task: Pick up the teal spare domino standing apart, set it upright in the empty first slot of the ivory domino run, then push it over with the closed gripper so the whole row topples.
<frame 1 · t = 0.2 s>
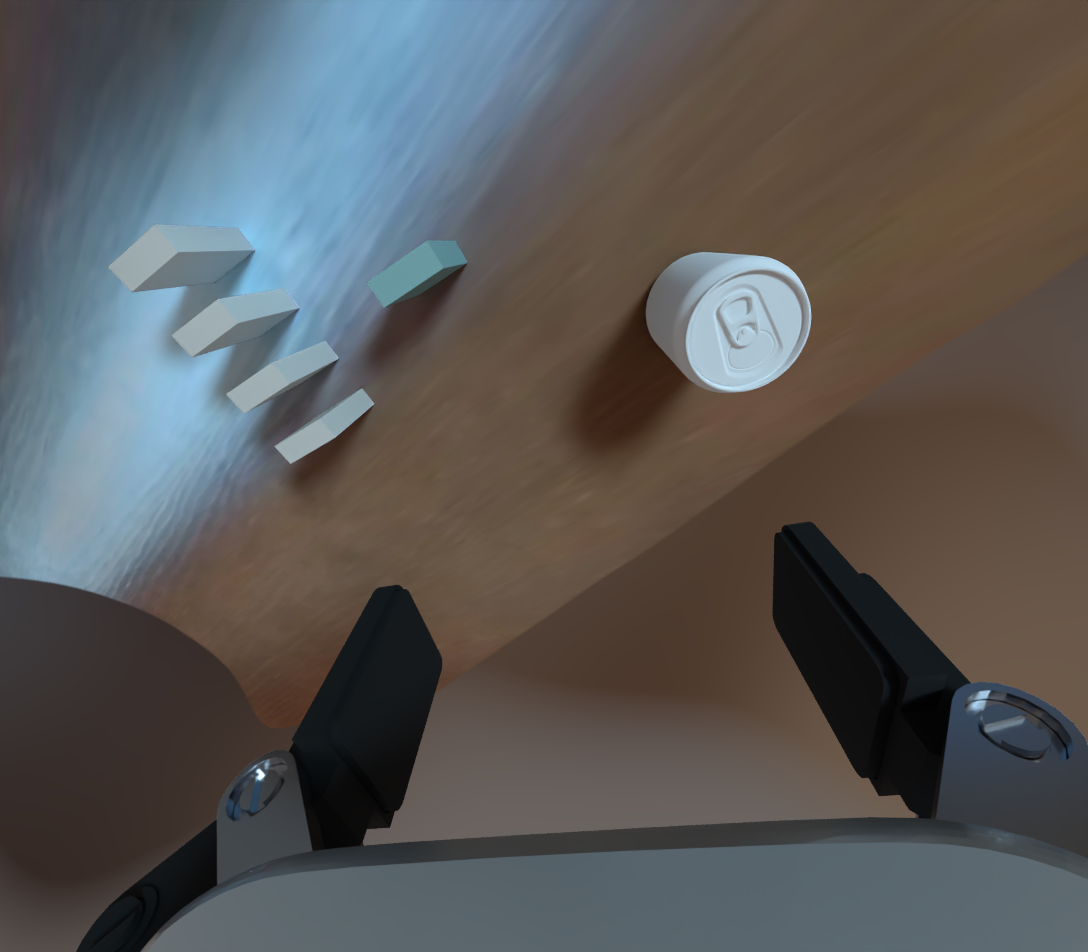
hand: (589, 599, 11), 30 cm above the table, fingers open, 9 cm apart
domino 4: (312, 362, 39), on the table
spare domino: (436, 268, 35), on the table
beverage can: (692, 306, 36), on the table
domino 3: (271, 312, 37), on the table
domino 5: (348, 408, 41), on the table
domino 2: (226, 256, 35), on the table
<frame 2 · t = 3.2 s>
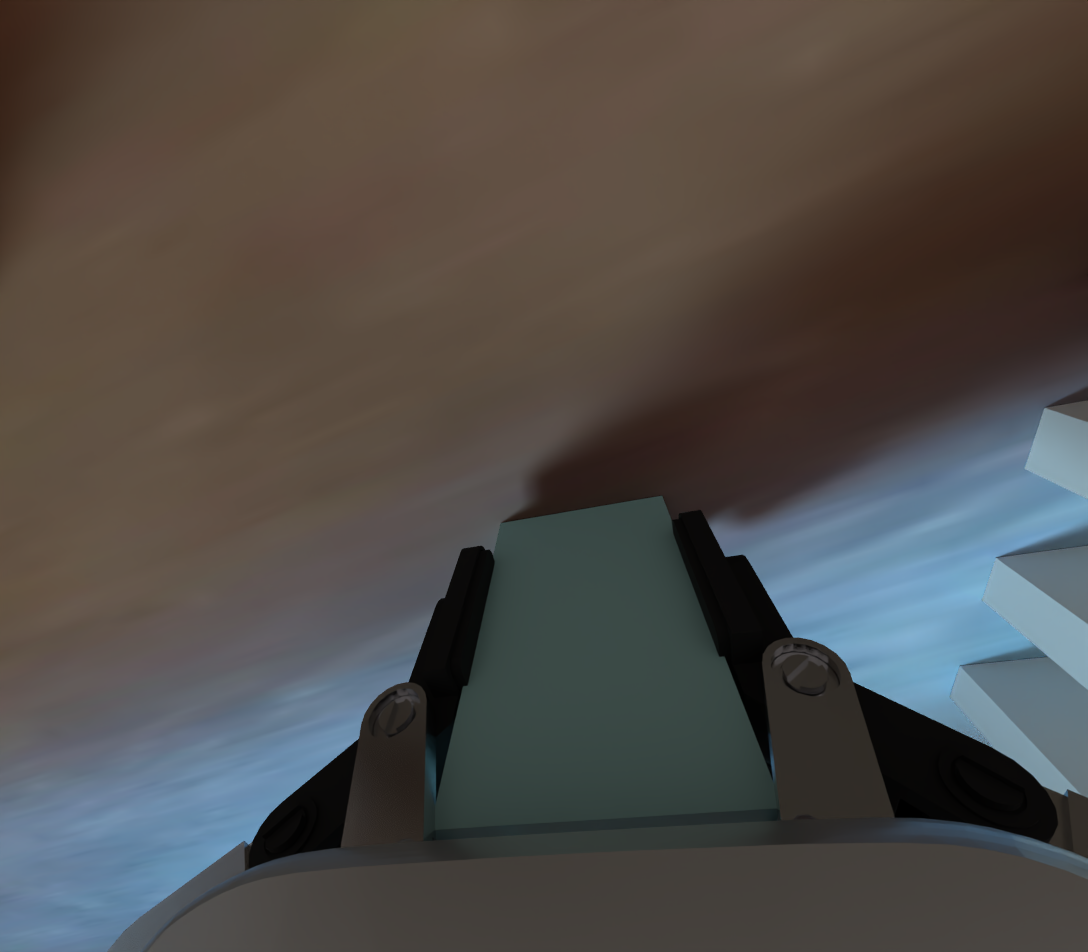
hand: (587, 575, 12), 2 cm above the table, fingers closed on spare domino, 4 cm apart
spare domino: (584, 533, 13), on the table, touching gripper
domino 3: (1078, 568, 13), on the table
domino 2: (1030, 674, 16), on the table
when the fingers open (3 cm above the table, at t = 8.4 s): spare domino stays where it is, on the table.
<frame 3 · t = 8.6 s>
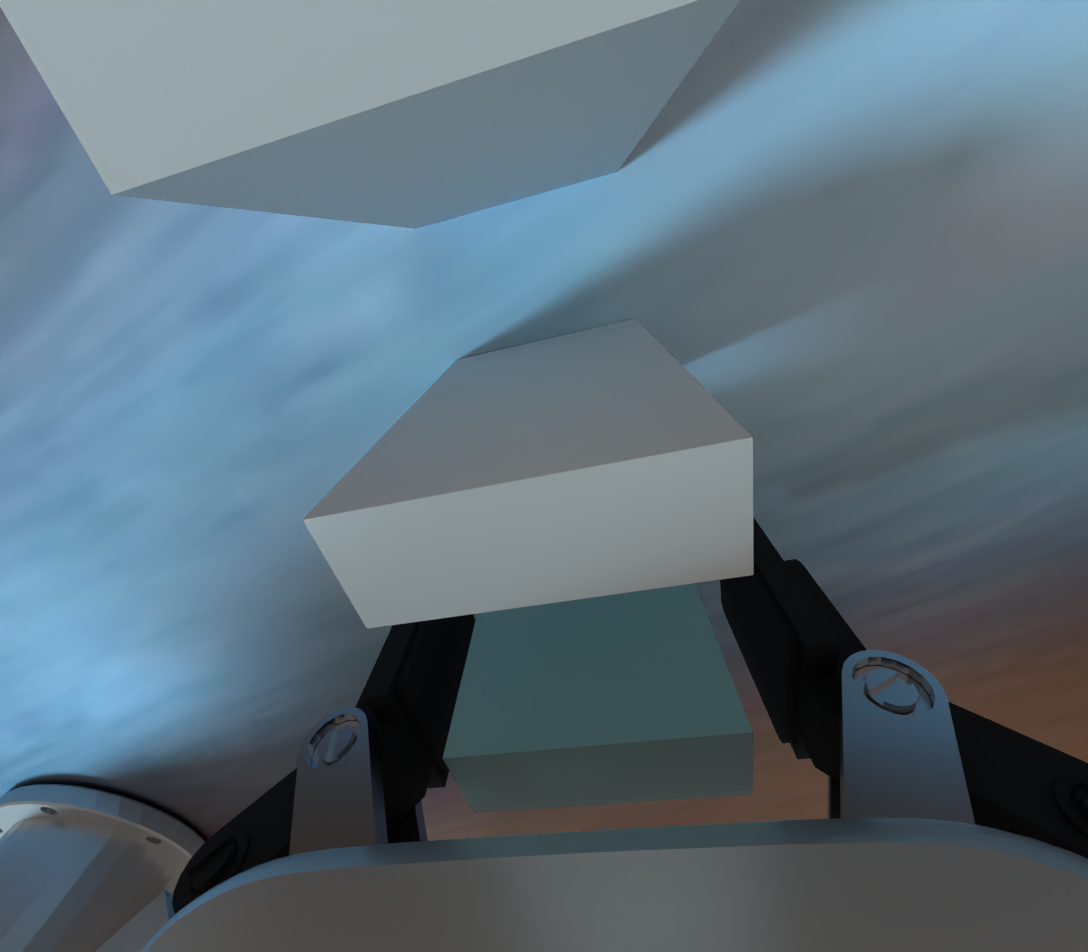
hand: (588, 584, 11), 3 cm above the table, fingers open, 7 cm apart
spare domino: (582, 514, 14), on the table
domino 3: (502, 155, 10), on the table
domino 2: (550, 371, 12), on the table
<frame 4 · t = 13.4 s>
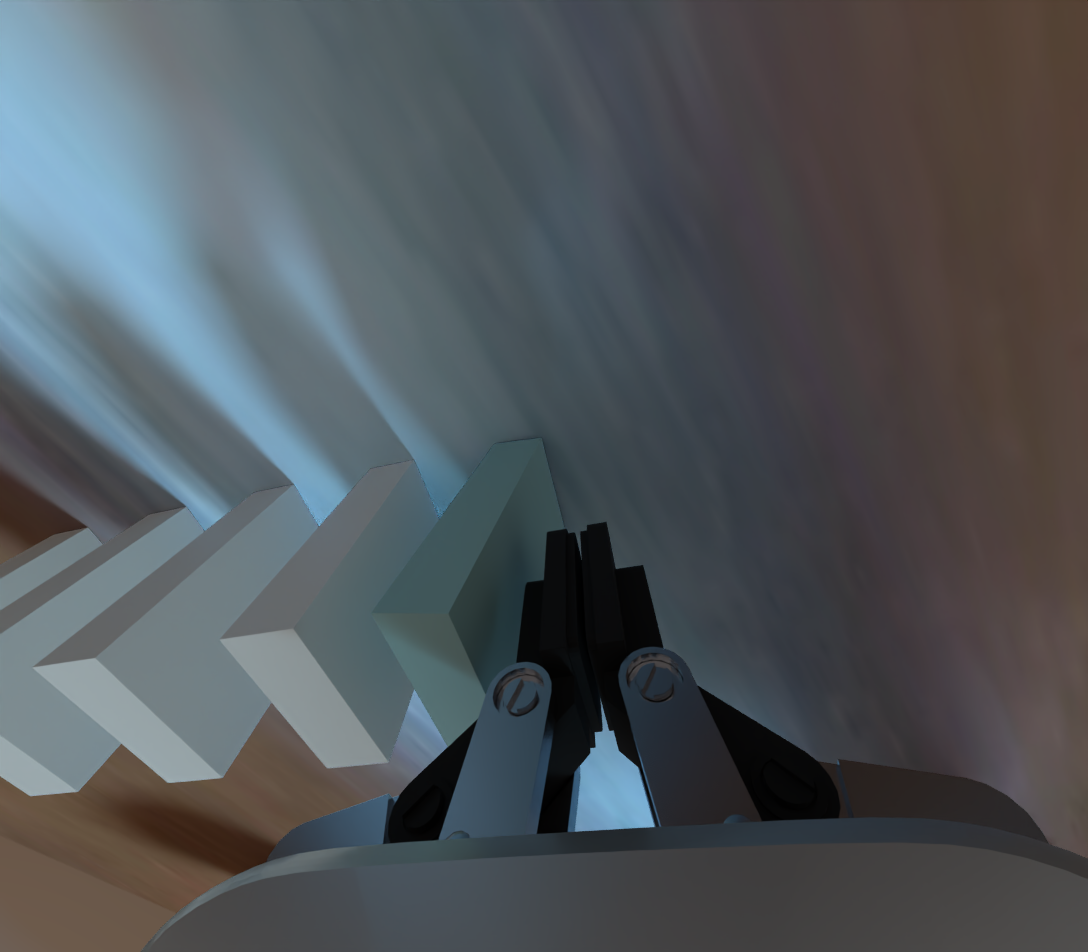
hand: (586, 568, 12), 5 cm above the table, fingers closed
domino 4: (204, 557, 19), on the table
spare domino: (534, 499, 16), on the table, tilted 10°
domino 3: (304, 538, 18), on the table
domino 5: (111, 574, 19), on the table
domino 2: (416, 518, 17), on the table
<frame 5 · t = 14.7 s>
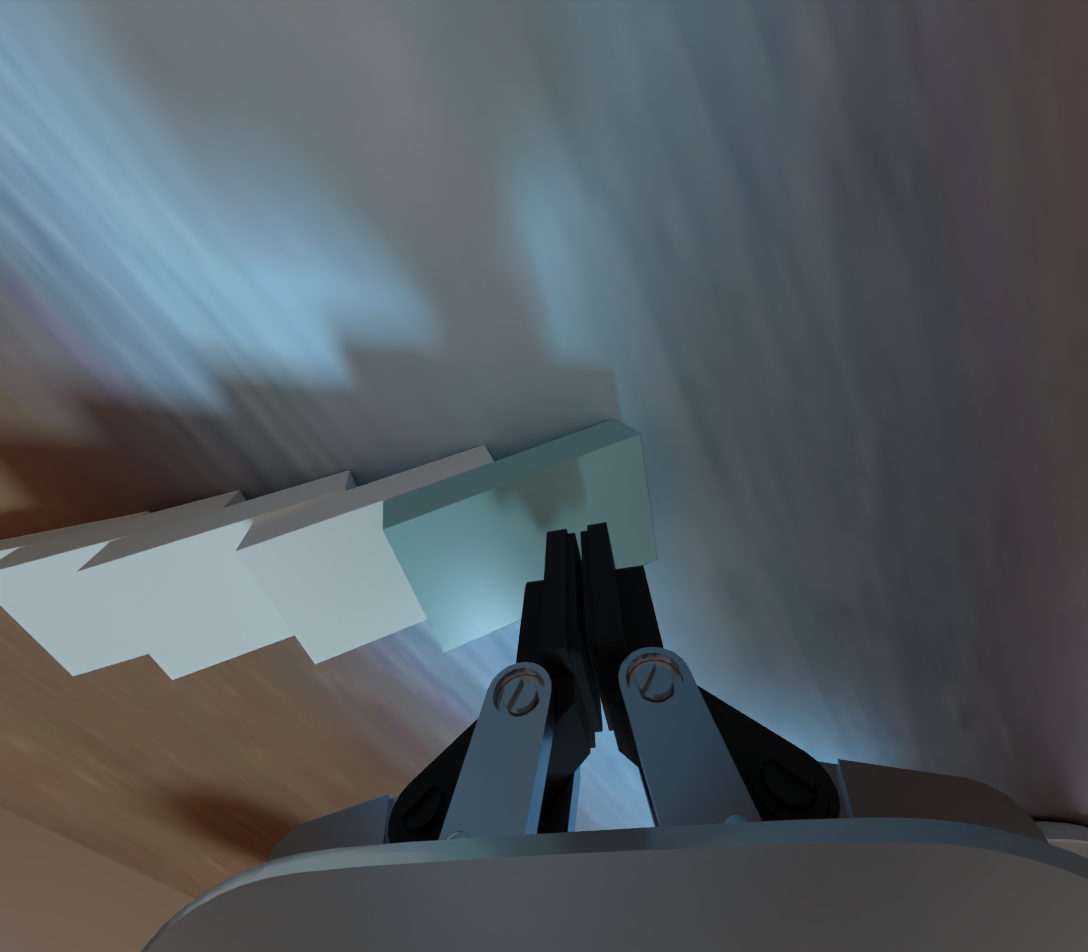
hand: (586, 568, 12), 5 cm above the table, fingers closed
domino 4: (262, 552, 17), point 1 cm above the table, tilted 74°, touching domino 5
spare domino: (636, 490, 15), point 1 cm above the table, tilted 68°, touching domino 2
domino 3: (373, 535, 16), point 1 cm above the table, tilted 69°, touching domino 2
domino 5: (179, 562, 18), on the table, tilted 90°, touching domino 4
domino 2: (508, 512, 16), point 1 cm above the table, tilted 69°, touching domino 3, spare domino
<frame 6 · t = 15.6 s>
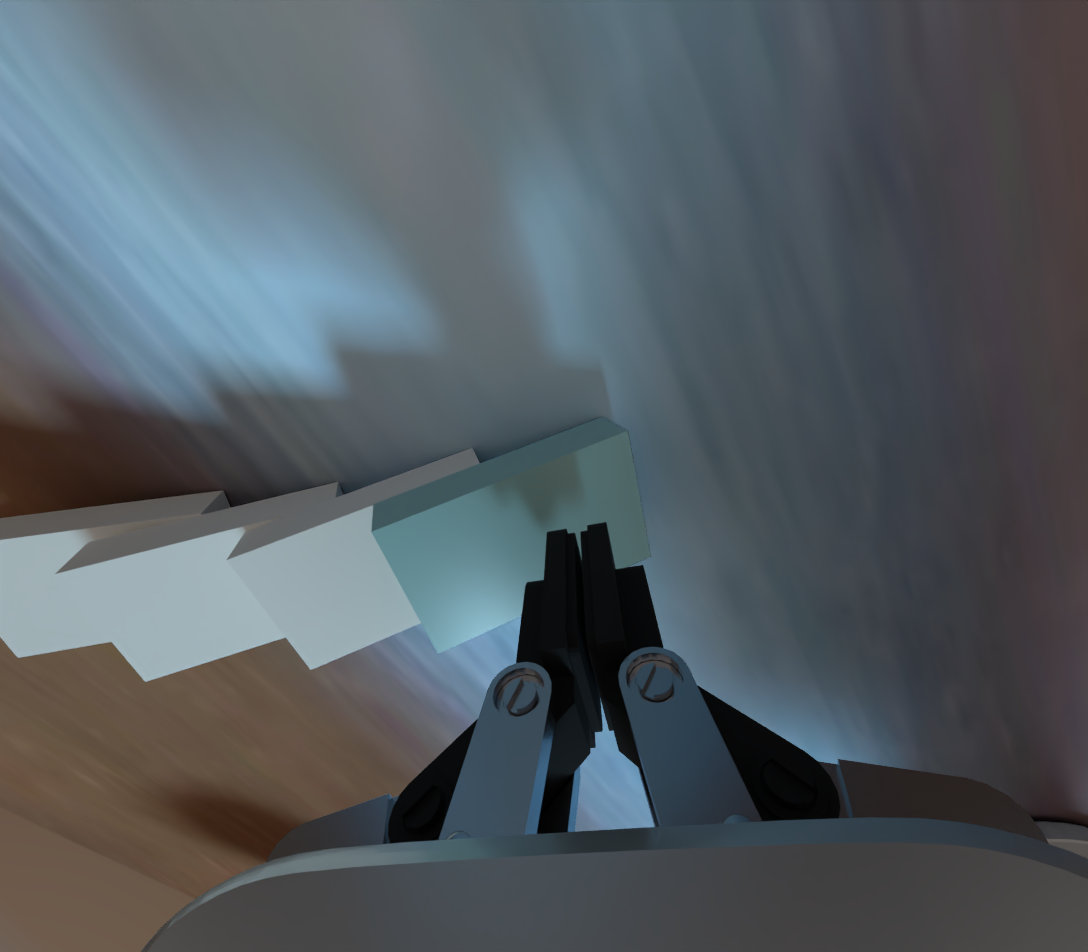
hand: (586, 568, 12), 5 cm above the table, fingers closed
domino 4: (236, 555, 17), point 1 cm above the table, tilted 75°, touching domino 3, domino 5
spare domino: (627, 487, 15), point 1 cm above the table, tilted 68°, touching domino 2
domino 3: (357, 546, 17), point 1 cm above the table, tilted 68°, touching domino 2, domino 4
domino 2: (498, 514, 16), point 1 cm above the table, tilted 70°, touching domino 3, spare domino
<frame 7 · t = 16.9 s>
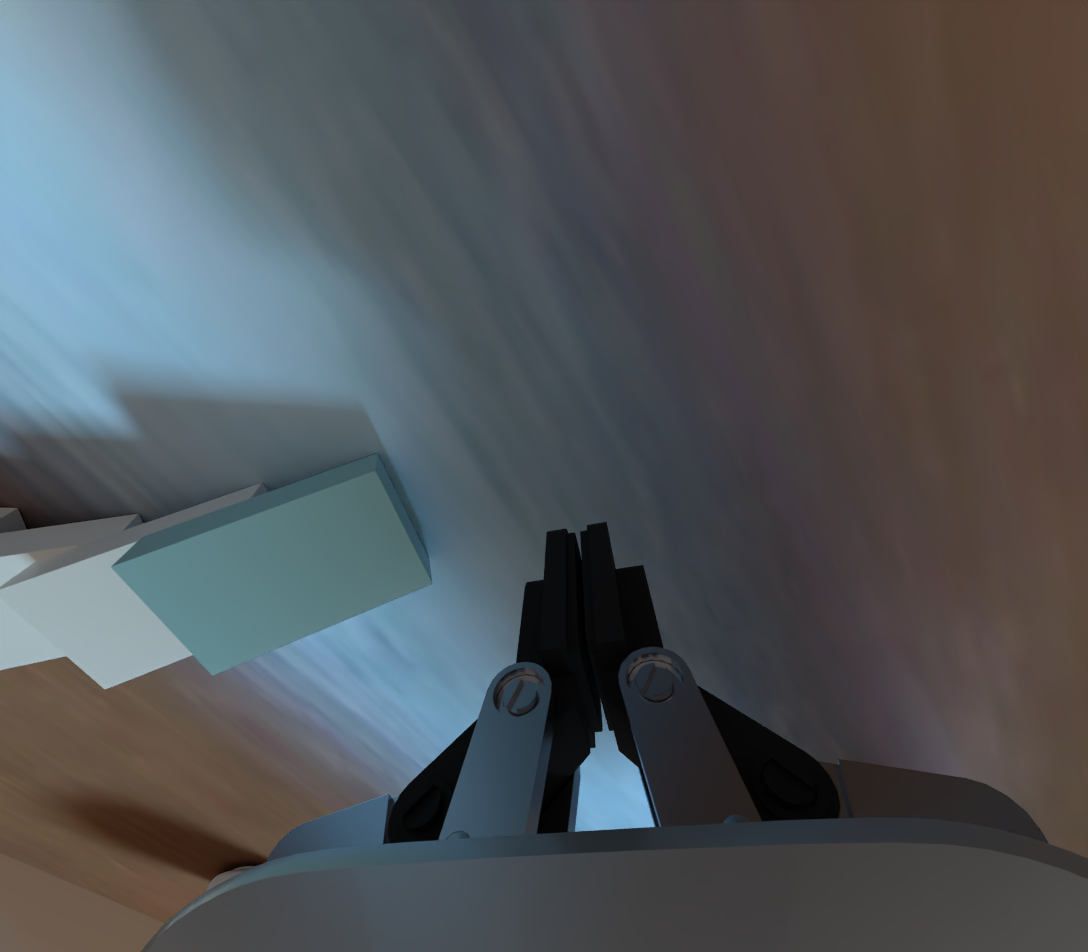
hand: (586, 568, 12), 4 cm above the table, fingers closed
domino 4: (21, 570, 18), point 1 cm above the table, tilted 74°, touching domino 3, domino 5
spare domino: (405, 519, 16), point 1 cm above the table, tilted 69°, touching domino 2
beverage can: (269, 879, 35), on the table
domino 3: (154, 575, 18), point 1 cm above the table, tilted 69°, touching domino 2, domino 4
domino 2: (290, 545, 17), point 1 cm above the table, tilted 71°, touching domino 3, spare domino
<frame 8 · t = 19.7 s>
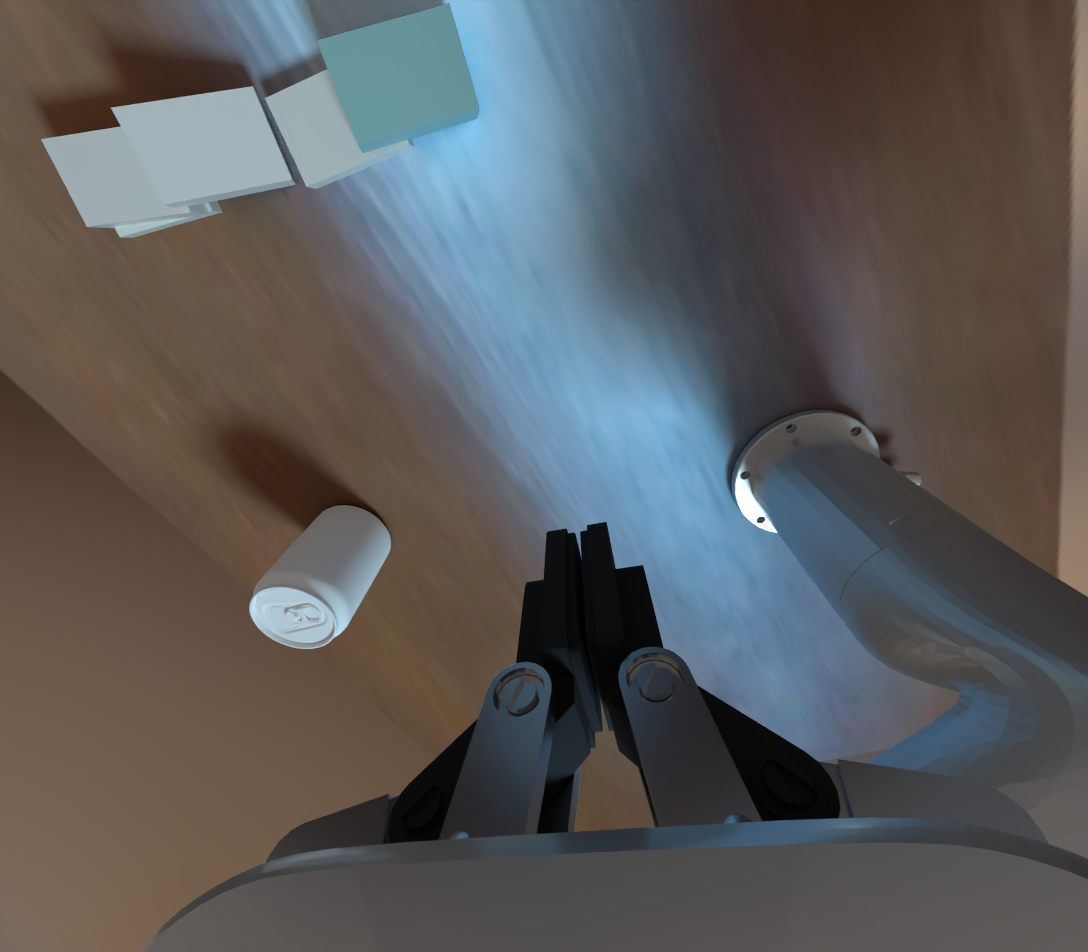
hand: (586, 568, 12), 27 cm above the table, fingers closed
domino 4: (182, 170, 29), point 2 cm above the table, tilted 90°, touching domino 3, domino 5
spare domino: (464, 64, 27), point 1 cm above the table, tilted 74°
beverage can: (356, 532, 46), on the table
domino 3: (275, 138, 29), point 1 cm above the table, tilted 67°, touching domino 4
domino 5: (202, 172, 31), on the table, tilted 90°, touching domino 4
domino 2: (397, 101, 28), on the table, tilted 90°
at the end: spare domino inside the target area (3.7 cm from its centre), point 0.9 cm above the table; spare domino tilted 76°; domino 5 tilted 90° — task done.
